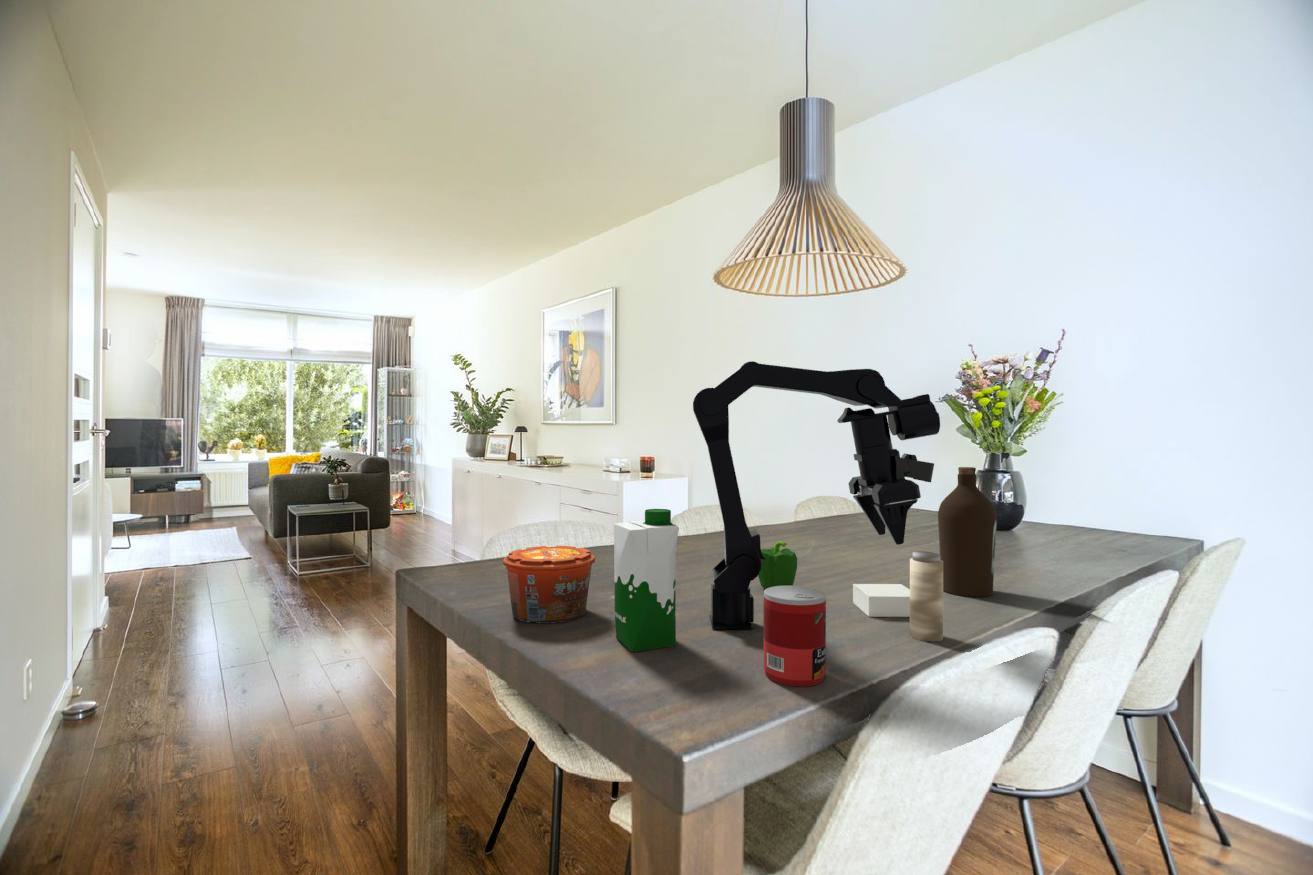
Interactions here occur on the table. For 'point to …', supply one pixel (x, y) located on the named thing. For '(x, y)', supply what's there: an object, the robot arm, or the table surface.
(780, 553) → the bell pepper
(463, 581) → the table surface
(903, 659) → the table surface
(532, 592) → the food container
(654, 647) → the milk carton
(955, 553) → the olive oil
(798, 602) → the canned food
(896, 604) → the stoneware block
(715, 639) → the table surface
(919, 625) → the salt mill
